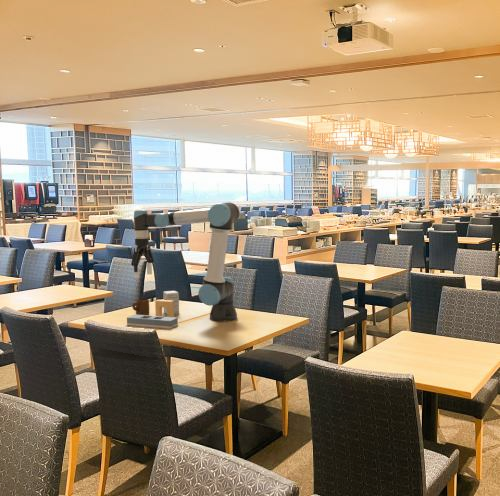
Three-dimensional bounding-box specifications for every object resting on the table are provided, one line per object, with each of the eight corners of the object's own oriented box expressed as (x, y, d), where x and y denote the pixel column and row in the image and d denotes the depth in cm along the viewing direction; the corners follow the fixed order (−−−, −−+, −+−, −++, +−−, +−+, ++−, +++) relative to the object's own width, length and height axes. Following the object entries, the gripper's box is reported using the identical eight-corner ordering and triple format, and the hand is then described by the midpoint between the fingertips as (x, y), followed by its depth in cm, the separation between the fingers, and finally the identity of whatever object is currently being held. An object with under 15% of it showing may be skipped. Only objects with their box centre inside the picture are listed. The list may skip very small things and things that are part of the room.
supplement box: (163, 312, 332) (162, 291, 331) (175, 311, 335) (175, 290, 334) (167, 315, 325) (166, 293, 324) (179, 313, 328) (179, 292, 327)
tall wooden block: (174, 319, 315) (173, 300, 314) (171, 320, 312) (171, 301, 311) (158, 318, 318) (157, 299, 317) (155, 319, 315) (155, 300, 314)
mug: (138, 319, 316) (138, 302, 315) (127, 318, 319) (127, 301, 318) (152, 315, 326) (151, 299, 325) (141, 313, 330) (141, 297, 329)
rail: (177, 325, 301) (177, 317, 301) (170, 328, 294) (170, 320, 293) (135, 321, 310) (134, 314, 310) (127, 324, 303) (126, 317, 302)
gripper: (147, 236, 327) (148, 272, 329) (123, 239, 303) (125, 279, 306) (158, 236, 324) (160, 273, 326) (135, 239, 301) (137, 279, 303)
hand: (143, 276), depth 316 cm, fingers open, 13 cm apart
